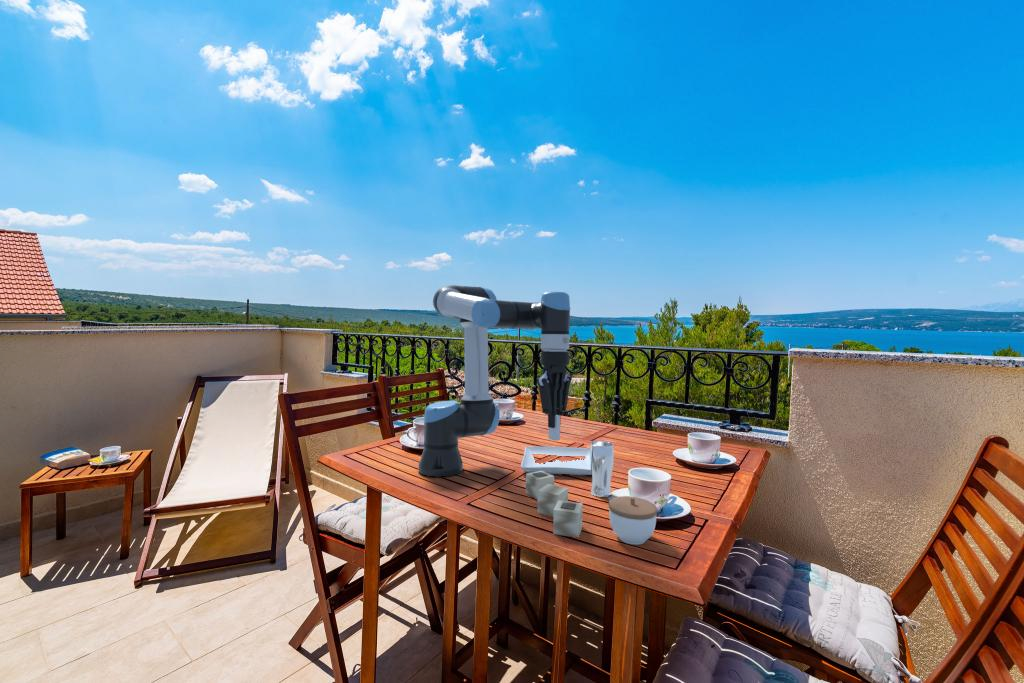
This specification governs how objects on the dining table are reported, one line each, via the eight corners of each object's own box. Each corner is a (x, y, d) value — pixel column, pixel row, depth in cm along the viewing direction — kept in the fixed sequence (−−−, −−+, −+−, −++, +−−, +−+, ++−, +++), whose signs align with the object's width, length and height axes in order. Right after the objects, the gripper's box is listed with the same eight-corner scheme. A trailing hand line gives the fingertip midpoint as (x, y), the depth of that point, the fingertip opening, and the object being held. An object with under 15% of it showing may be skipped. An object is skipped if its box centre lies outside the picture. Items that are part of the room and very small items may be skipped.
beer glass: (595, 499, 117) (596, 447, 117) (585, 490, 123) (585, 441, 123) (617, 497, 118) (618, 445, 118) (605, 488, 125) (606, 440, 125)
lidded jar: (648, 528, 99) (649, 489, 99) (663, 551, 88) (663, 508, 88) (604, 526, 100) (604, 488, 100) (613, 549, 89) (614, 506, 89)
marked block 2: (553, 534, 96) (553, 508, 96) (557, 523, 101) (558, 499, 101) (578, 538, 94) (579, 512, 94) (582, 526, 100) (582, 502, 100)
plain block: (537, 513, 107) (537, 490, 107) (547, 505, 112) (548, 483, 112) (557, 518, 104) (558, 495, 104) (567, 510, 109) (568, 488, 109)
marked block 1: (525, 493, 121) (525, 473, 121) (541, 489, 124) (542, 469, 124) (537, 500, 116) (537, 479, 116) (553, 495, 119) (554, 475, 119)
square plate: (593, 457, 160) (593, 447, 160) (602, 481, 133) (602, 469, 133) (525, 454, 163) (525, 444, 163) (519, 477, 136) (520, 465, 136)
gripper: (551, 351, 100) (550, 446, 100) (580, 350, 110) (579, 437, 110) (528, 350, 106) (527, 441, 106) (558, 350, 115) (557, 433, 115)
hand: (554, 439), depth 108 cm, fingers closed
